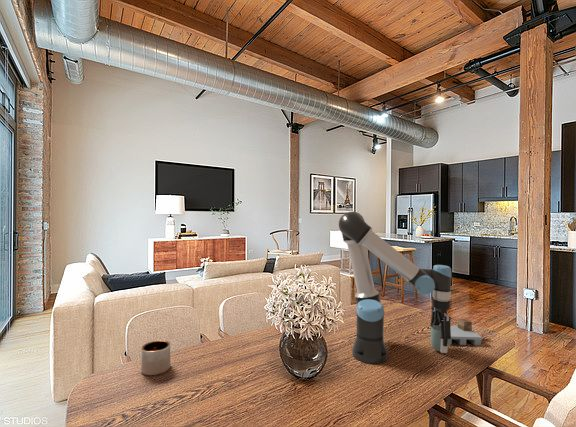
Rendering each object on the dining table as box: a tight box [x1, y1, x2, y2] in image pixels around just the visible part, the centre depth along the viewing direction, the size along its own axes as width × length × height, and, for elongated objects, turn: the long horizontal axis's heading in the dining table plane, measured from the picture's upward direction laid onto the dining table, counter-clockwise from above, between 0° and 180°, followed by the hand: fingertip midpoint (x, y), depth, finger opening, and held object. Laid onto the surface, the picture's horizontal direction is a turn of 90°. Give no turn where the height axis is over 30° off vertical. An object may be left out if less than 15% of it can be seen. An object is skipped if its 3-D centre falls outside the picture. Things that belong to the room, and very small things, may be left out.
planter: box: [140, 339, 171, 377], centre depth 125 cm, size 11×11×10 cm
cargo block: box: [457, 318, 473, 331], centre depth 160 cm, size 4×4×4 cm
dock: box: [449, 325, 483, 346], centre depth 157 cm, size 18×14×4 cm
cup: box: [430, 325, 450, 352], centre depth 144 cm, size 8×8×10 cm
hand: (439, 348), depth 144 cm, fingers closed on cup, 8 cm apart
